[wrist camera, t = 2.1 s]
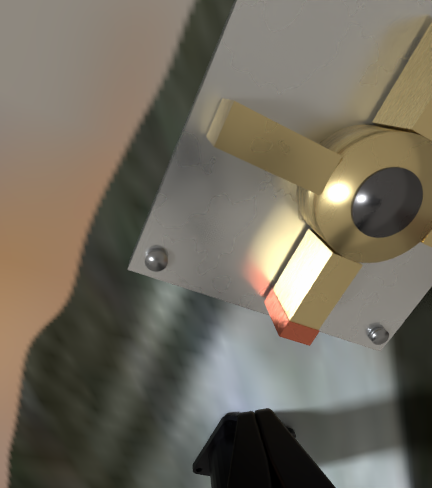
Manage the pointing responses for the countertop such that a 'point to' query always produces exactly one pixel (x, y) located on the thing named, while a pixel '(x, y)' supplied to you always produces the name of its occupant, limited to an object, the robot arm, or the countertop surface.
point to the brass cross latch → (344, 191)
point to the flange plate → (269, 185)
